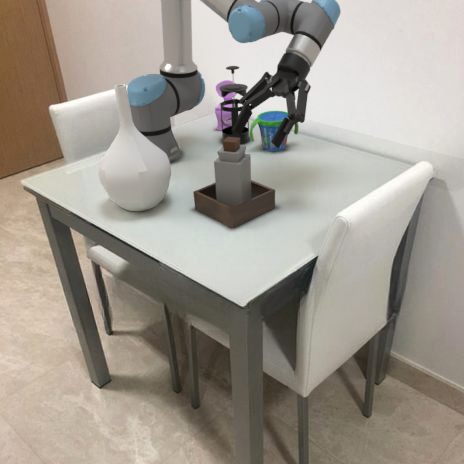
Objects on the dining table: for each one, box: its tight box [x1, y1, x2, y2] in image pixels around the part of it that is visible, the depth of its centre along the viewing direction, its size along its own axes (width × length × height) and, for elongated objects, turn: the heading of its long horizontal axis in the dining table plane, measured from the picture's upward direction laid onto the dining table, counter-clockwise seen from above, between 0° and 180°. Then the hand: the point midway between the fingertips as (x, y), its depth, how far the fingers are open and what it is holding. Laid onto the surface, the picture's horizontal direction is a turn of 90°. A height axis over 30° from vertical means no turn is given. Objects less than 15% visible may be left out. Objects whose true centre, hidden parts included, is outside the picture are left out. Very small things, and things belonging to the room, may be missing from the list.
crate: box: [193, 179, 276, 229], centre depth 128 cm, size 15×15×5 cm
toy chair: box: [214, 79, 238, 131], centre depth 176 cm, size 8×9×15 cm
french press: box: [219, 65, 251, 145], centre depth 162 cm, size 12×9×23 cm
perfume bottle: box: [213, 137, 252, 207], centre depth 124 cm, size 7×7×18 cm
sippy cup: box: [249, 110, 299, 152], centre depth 159 cm, size 16×10×10 cm
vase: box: [98, 83, 172, 212], centre depth 125 cm, size 18×18×30 cm
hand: (254, 138), depth 123 cm, fingers open, 13 cm apart
